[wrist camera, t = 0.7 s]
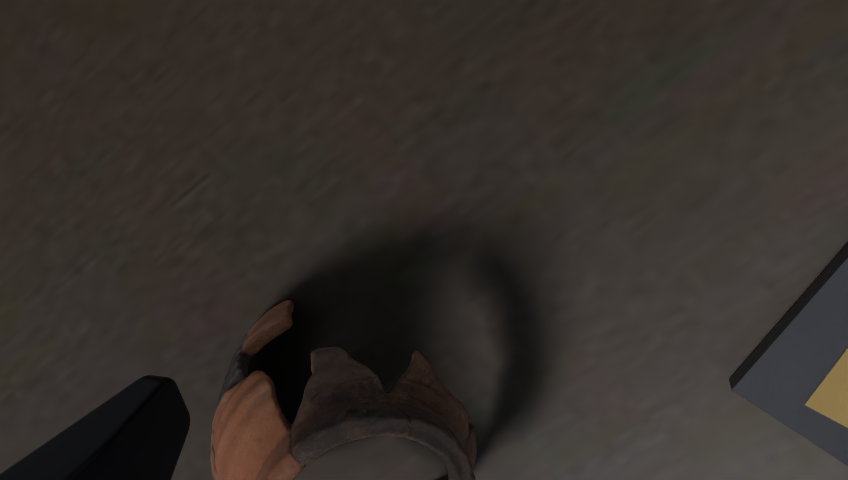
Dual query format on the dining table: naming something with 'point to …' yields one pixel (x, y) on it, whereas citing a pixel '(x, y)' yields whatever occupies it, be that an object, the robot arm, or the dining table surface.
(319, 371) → the brown ring holder
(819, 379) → the grey flat plate
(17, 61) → the dining table surface
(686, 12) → the dining table surface
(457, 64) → the dining table surface
